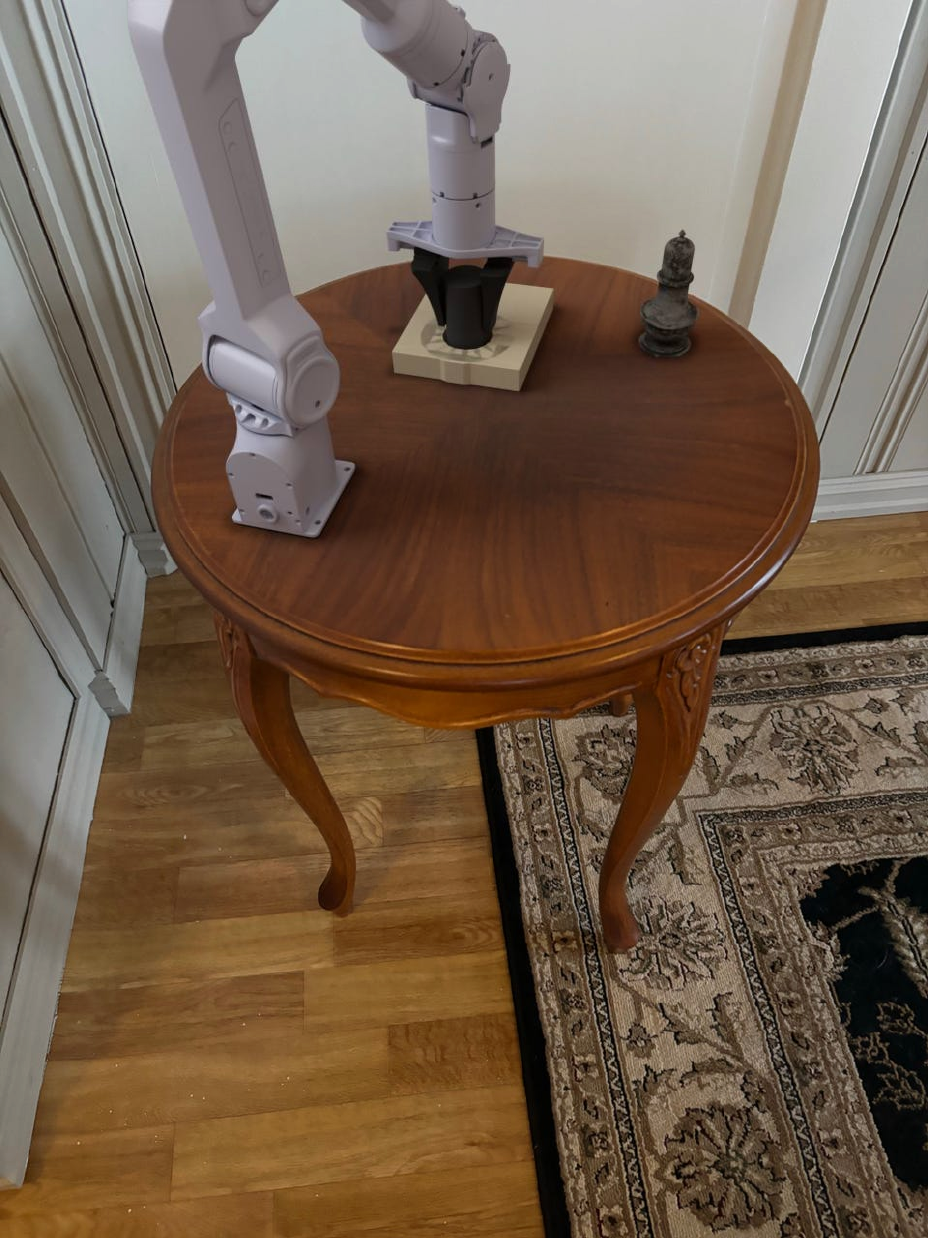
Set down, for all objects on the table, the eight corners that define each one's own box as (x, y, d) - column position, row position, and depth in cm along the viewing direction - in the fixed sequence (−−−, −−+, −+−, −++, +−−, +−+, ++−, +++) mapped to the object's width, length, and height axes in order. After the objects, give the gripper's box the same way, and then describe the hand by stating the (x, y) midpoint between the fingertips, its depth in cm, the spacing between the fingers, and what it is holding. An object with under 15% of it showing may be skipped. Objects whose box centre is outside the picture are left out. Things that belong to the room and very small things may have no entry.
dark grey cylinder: (482, 355, 88) (480, 290, 82) (441, 349, 89) (437, 284, 83) (493, 331, 90) (492, 267, 85) (453, 326, 91) (450, 262, 86)
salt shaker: (625, 348, 91) (639, 234, 82) (651, 320, 94) (668, 208, 85) (677, 366, 89) (698, 251, 79) (703, 337, 92) (726, 224, 82)
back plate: (518, 393, 87) (519, 371, 85) (393, 374, 89) (390, 352, 87) (552, 309, 96) (554, 288, 94) (438, 294, 99) (437, 273, 97)
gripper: (553, 172, 79) (547, 311, 89) (399, 157, 81) (410, 293, 92) (535, 210, 74) (531, 351, 85) (372, 193, 77) (388, 331, 88)
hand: (467, 324), depth 88 cm, fingers closed on dark grey cylinder, 4 cm apart
